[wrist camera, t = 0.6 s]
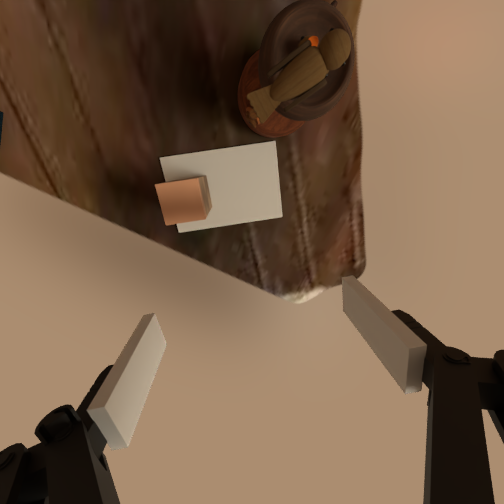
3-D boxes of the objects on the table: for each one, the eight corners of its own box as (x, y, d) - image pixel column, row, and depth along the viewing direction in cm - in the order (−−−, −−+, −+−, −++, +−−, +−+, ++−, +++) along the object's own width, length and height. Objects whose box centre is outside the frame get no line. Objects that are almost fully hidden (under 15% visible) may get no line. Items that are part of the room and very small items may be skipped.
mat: (160, 157, 36) (159, 157, 36) (275, 141, 36) (275, 140, 36) (179, 232, 40) (178, 232, 40) (282, 216, 40) (282, 216, 40)
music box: (272, 163, 37) (311, 161, 19) (216, 114, 34) (195, 52, 16) (339, 76, 34) (469, -36, 15) (283, 13, 31) (358, -221, 12)
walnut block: (175, 179, 37) (154, 184, 28) (206, 175, 37) (196, 178, 28) (182, 211, 39) (166, 225, 29) (212, 206, 39) (205, 219, 29)
